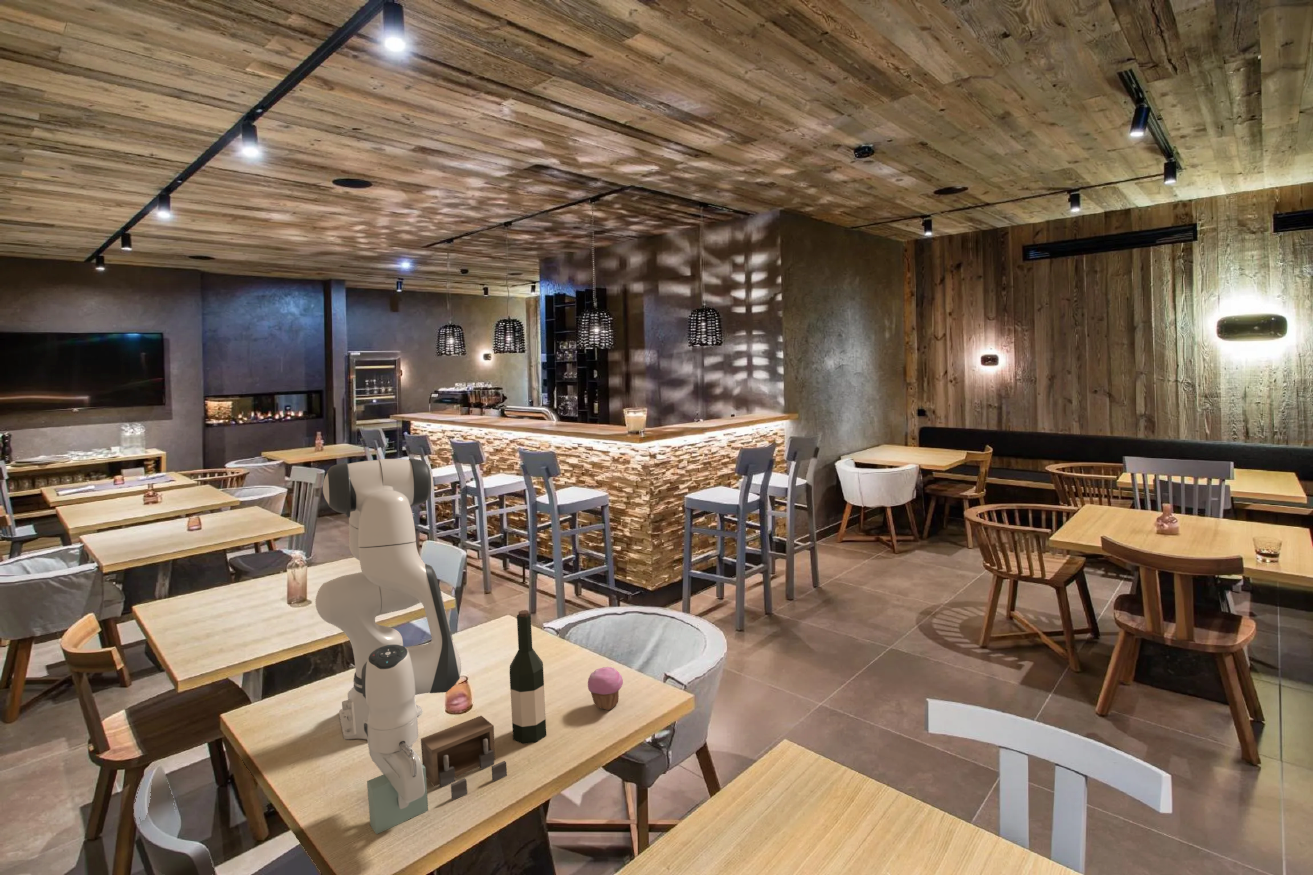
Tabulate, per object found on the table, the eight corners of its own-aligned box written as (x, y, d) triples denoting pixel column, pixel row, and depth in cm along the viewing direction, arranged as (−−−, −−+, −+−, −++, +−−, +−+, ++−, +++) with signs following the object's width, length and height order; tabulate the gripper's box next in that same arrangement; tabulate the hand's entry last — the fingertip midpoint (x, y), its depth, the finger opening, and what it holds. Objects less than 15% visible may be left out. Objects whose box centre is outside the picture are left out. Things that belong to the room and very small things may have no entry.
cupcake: (628, 701, 174) (627, 664, 173) (614, 717, 166) (613, 678, 165) (597, 696, 177) (596, 659, 176) (582, 711, 169) (581, 673, 168)
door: (370, 825, 129) (366, 780, 128) (421, 802, 135) (418, 759, 134) (378, 837, 125) (375, 791, 124) (430, 813, 132) (427, 769, 131)
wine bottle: (539, 745, 154) (533, 619, 151) (506, 742, 156) (499, 617, 153) (552, 726, 163) (546, 606, 160) (520, 723, 164) (514, 604, 161)
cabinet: (423, 773, 145) (420, 738, 144) (483, 748, 154) (481, 715, 153) (448, 802, 135) (446, 764, 134) (511, 773, 144) (509, 738, 143)
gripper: (431, 748, 123) (436, 818, 124) (391, 707, 138) (396, 770, 140) (396, 761, 119) (401, 834, 120) (359, 718, 134) (364, 783, 136)
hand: (398, 800), depth 130 cm, fingers closed on door, 3 cm apart
